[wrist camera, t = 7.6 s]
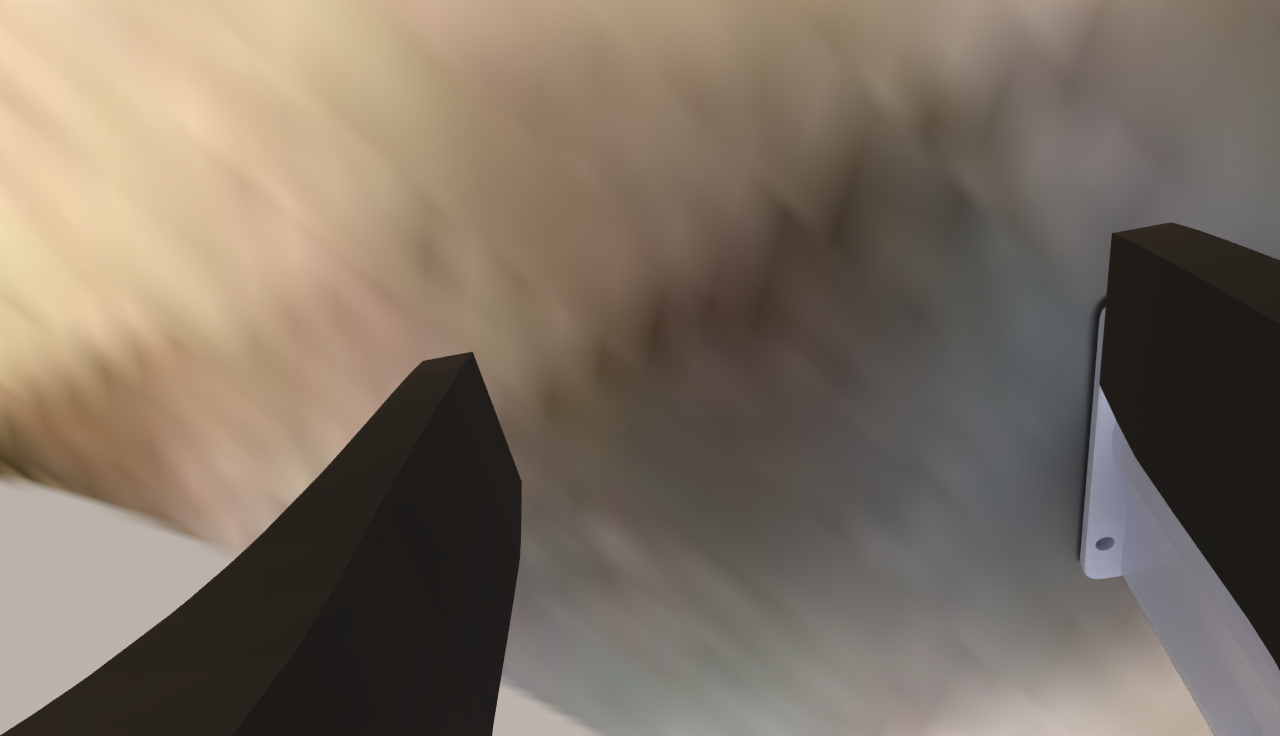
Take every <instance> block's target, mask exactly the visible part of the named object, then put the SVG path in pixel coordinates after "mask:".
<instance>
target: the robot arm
mask: <svg viewBox="0 0 1280 736" xmlns="http://www.w3.org/2000/svg"><path fill="white" fill-rule="evenodd" d="M521 489H522V482H521V479H520V476H519V474H518V471H517V468H516V466H515V463H514V460H513V458H512V455H511V452H510V450H509V447H508V444H507V442H506V439H505V436H504V434H503V431H502V428H501V426H500V423H499V420H498V418H497V415H496V412H495V410H494V407H493V405H492V402H491V399H490V397H489V394H488V391H487V389H486V386H485V383H484V381H483V378H482V375H481V373H480V370H479V367H478V365H477V362H476V359H475V357H474V354H473V352H469V353H463V354H458V355H453V356H447V357H442V358H436V359H431V360H426V361H422V362H421V363H420V364H419V365H418V366H417V367H416V368H415V369H414V370H413V371H412V372H411V373H410V374H409V375H408V376H407V378H406V379H405V380H404V381H403V382H402V383H401V384H400V385H399V386H398V388H397V389H396V390H395V391H394V392H393V393H392V394H391V395H390V397H389V398H388V399H387V400H386V401H385V402H384V403H383V405H382V406H381V407H380V408H379V409H378V410H377V411H376V413H375V414H374V415H373V416H372V417H371V418H370V419H369V421H368V422H367V423H366V424H365V425H364V426H363V427H362V428H361V430H360V431H359V432H358V433H357V434H356V435H355V436H354V437H353V439H352V440H351V441H350V442H349V443H348V444H347V445H346V446H345V448H344V449H343V450H342V451H341V452H340V453H339V454H338V455H337V457H336V458H335V459H334V460H333V461H332V462H331V463H330V464H329V465H328V467H327V468H326V469H325V470H324V471H323V472H322V473H321V474H320V475H319V476H318V477H317V478H316V479H315V480H314V481H313V482H312V483H311V484H310V485H309V486H308V487H307V488H306V490H305V491H304V492H303V493H302V494H301V495H300V496H299V497H298V498H297V499H296V500H295V501H294V502H293V503H292V504H291V505H290V506H289V507H288V508H287V509H286V510H285V511H284V512H283V513H282V514H281V515H280V516H279V517H278V518H277V519H276V520H275V521H274V522H273V523H272V524H271V525H270V526H269V527H268V528H267V529H266V531H265V532H264V533H262V534H261V535H260V536H259V537H258V538H257V539H256V540H255V541H254V542H253V543H252V544H251V545H250V546H249V547H248V548H247V549H246V550H244V551H243V552H242V553H241V554H240V555H239V556H238V557H237V558H236V559H235V560H234V561H232V562H231V563H230V564H229V565H228V566H227V567H226V568H225V569H224V570H222V571H221V572H220V573H219V574H218V575H217V576H216V577H214V578H213V579H212V580H211V581H210V582H208V583H207V584H206V585H205V586H204V587H203V588H202V589H200V590H199V591H198V592H197V593H196V594H194V595H193V596H192V597H191V598H190V599H189V600H187V601H186V602H185V603H184V604H183V605H181V606H180V607H179V608H178V609H176V611H174V612H173V613H172V614H170V615H169V616H168V617H166V618H165V619H164V620H162V621H161V622H160V623H158V624H157V625H156V626H154V627H153V628H152V629H150V630H149V631H148V632H147V633H145V634H144V635H143V636H141V637H140V638H139V639H137V640H136V641H135V642H133V643H132V644H131V645H129V646H128V647H127V648H126V649H124V650H123V651H122V652H120V653H119V654H117V655H116V656H115V657H113V658H112V659H111V660H109V661H108V662H107V663H105V664H104V665H103V666H102V667H100V668H99V669H98V670H96V671H95V672H94V673H92V674H91V675H90V676H88V677H87V678H85V679H84V680H83V681H81V682H80V683H78V684H77V685H76V686H74V687H73V688H71V689H70V690H68V691H67V692H65V693H64V694H62V695H61V696H59V697H58V698H56V699H55V700H53V701H52V702H51V703H49V704H47V705H46V706H45V707H43V708H42V709H40V710H39V711H37V712H36V713H34V714H33V715H31V716H30V717H28V718H27V719H25V720H24V721H22V722H20V723H19V724H17V725H16V726H14V727H13V728H11V729H10V730H8V731H6V732H5V733H3V734H2V735H0V736H492V732H493V724H494V717H495V711H496V705H497V699H498V693H499V687H500V681H501V674H502V668H503V662H504V656H505V650H506V644H507V638H508V632H509V625H510V619H511V613H512V607H513V600H514V594H515V587H516V581H517V574H518V567H519V560H520V546H521ZM1102 538H1104V539H1102ZM1100 539H1101V540H1100ZM1080 565H1081V568H1082V570H1083V571H1084V573H1085V575H1087V576H1088V577H1089V578H1093V579H1104V578H1111V577H1118V576H1123V578H1124V579H1125V581H1126V583H1127V584H1128V586H1129V588H1130V590H1131V591H1132V593H1133V595H1134V597H1135V598H1136V600H1137V602H1138V604H1139V605H1140V607H1141V609H1142V611H1143V612H1144V614H1145V616H1146V618H1147V619H1148V621H1149V623H1150V625H1151V626H1152V628H1153V630H1154V632H1155V633H1156V635H1157V637H1158V639H1159V640H1160V642H1161V644H1162V646H1163V647H1164V649H1165V651H1166V653H1167V654H1168V656H1169V658H1170V660H1171V661H1172V663H1173V665H1174V666H1175V668H1176V670H1177V672H1178V673H1179V675H1180V677H1181V679H1182V680H1183V682H1184V684H1185V686H1186V687H1187V689H1188V691H1189V693H1190V694H1191V696H1192V698H1193V700H1194V701H1195V703H1196V705H1197V707H1198V708H1199V710H1200V712H1201V714H1202V715H1203V717H1204V719H1205V721H1206V722H1207V724H1208V726H1209V728H1210V729H1211V731H1212V733H1213V735H1214V736H1280V260H1277V259H1275V258H1272V257H1269V256H1267V255H1264V254H1262V253H1259V252H1256V251H1254V250H1251V249H1248V248H1246V247H1243V246H1240V245H1238V244H1235V243H1232V242H1230V241H1227V240H1224V239H1221V238H1219V237H1216V236H1213V235H1210V234H1207V233H1205V232H1202V231H1199V230H1195V229H1192V228H1189V227H1186V226H1182V225H1178V224H1175V223H1165V224H1160V225H1154V226H1149V227H1144V228H1138V229H1133V230H1127V231H1122V232H1117V233H1112V239H1111V251H1110V263H1109V274H1108V286H1107V298H1106V306H1105V308H1104V309H1103V310H1102V312H1101V315H1100V320H1099V332H1098V344H1097V357H1096V369H1095V381H1094V393H1093V406H1092V418H1091V430H1090V443H1089V455H1088V467H1087V479H1086V492H1085V504H1084V516H1083V529H1082V541H1081V553H1080Z"/></svg>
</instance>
